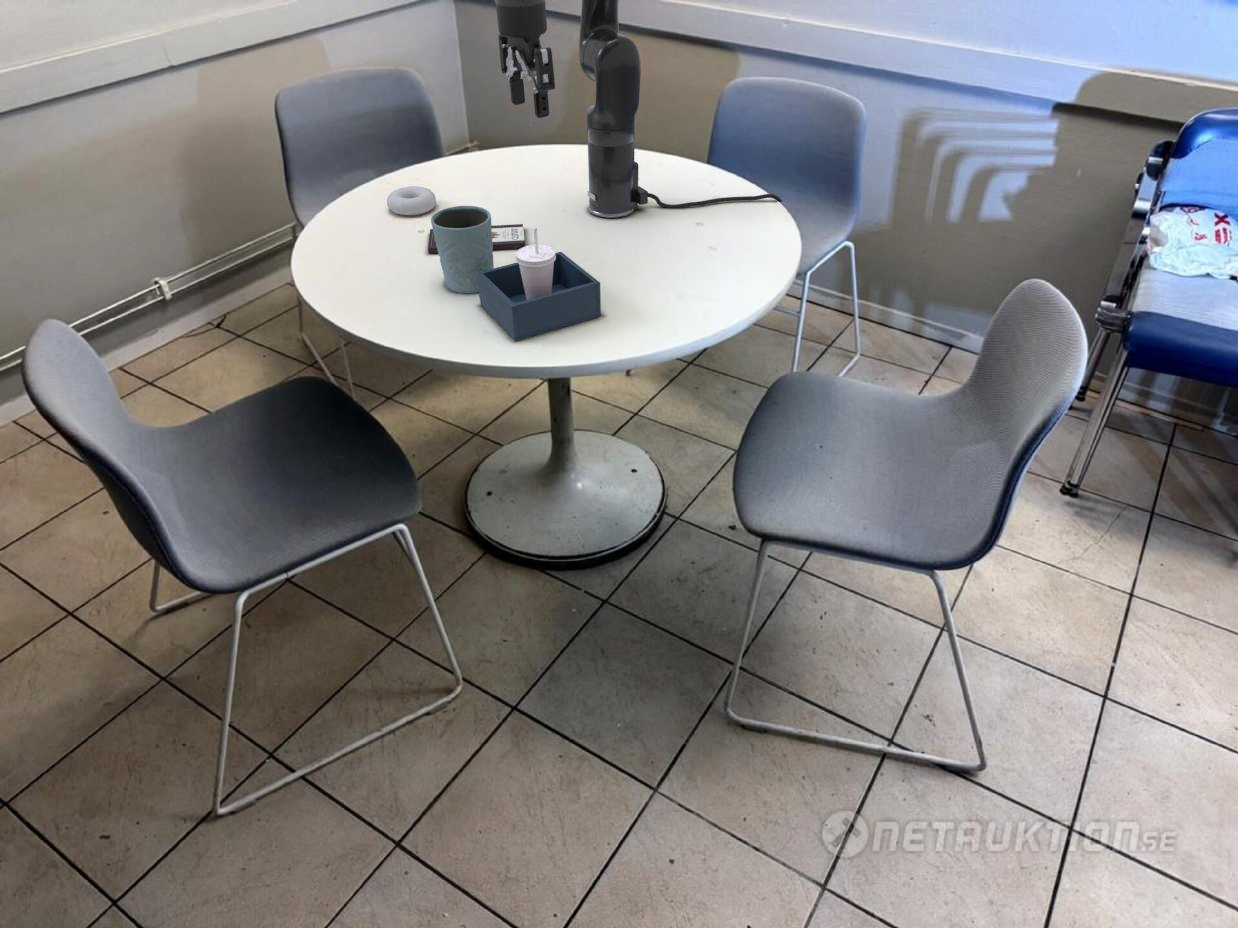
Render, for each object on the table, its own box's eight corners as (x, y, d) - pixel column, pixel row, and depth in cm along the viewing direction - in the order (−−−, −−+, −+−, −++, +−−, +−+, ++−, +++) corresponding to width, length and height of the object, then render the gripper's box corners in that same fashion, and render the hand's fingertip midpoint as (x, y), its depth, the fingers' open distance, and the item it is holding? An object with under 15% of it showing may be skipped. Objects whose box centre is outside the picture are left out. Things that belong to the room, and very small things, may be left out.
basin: (562, 283, 147) (561, 251, 143) (601, 316, 137) (600, 282, 134) (480, 305, 140) (476, 272, 137) (515, 341, 131) (511, 306, 127)
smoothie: (529, 320, 135) (522, 238, 126) (514, 303, 140) (506, 223, 131) (565, 311, 138) (560, 230, 129) (549, 295, 142) (544, 215, 133)
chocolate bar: (430, 229, 162) (522, 224, 164) (430, 233, 163) (523, 228, 165) (427, 248, 155) (524, 243, 157) (428, 253, 156) (525, 248, 158)
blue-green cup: (472, 300, 142) (464, 233, 134) (428, 286, 146) (417, 220, 138) (509, 277, 148) (503, 212, 141) (465, 264, 153) (457, 200, 145)
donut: (439, 199, 177) (391, 200, 177) (437, 183, 175) (388, 184, 174) (435, 218, 170) (385, 218, 169) (432, 201, 168) (382, 202, 167)
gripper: (564, 3, 123) (571, 117, 133) (521, -12, 132) (530, 95, 143) (519, 10, 120) (529, 126, 130) (477, -5, 130) (490, 103, 140)
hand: (530, 110), depth 137 cm, fingers open, 8 cm apart
